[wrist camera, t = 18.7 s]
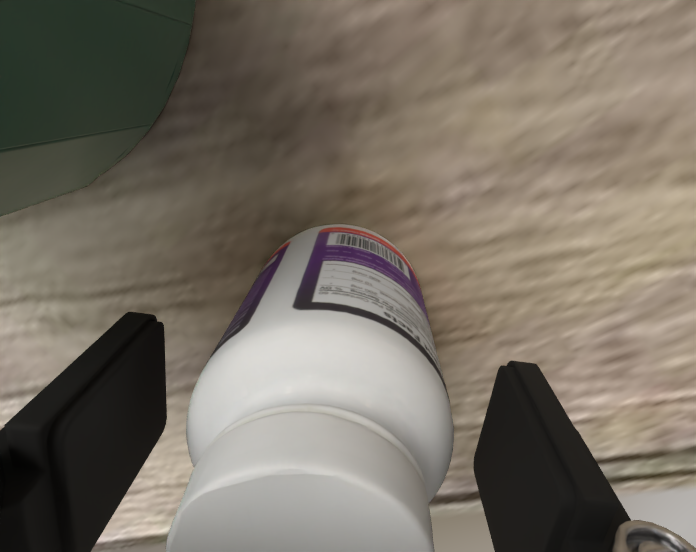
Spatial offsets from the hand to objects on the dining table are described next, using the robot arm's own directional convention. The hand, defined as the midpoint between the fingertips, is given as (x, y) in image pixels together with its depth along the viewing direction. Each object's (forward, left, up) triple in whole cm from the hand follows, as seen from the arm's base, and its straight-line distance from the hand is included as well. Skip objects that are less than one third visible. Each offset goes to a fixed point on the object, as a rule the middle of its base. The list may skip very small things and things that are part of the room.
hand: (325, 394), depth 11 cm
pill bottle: (0, 0, -5) cm, 5 cm away
